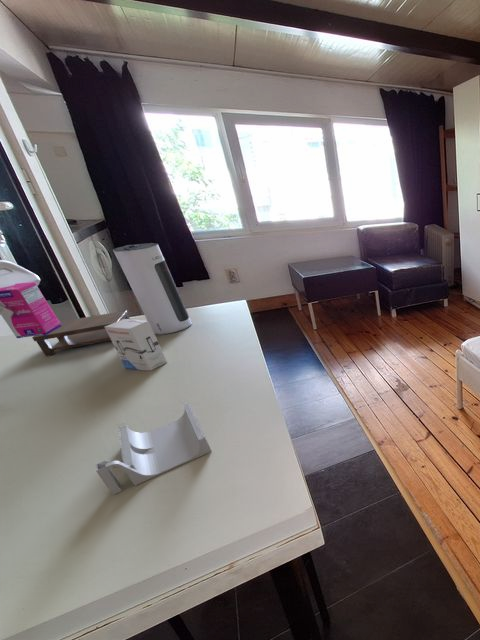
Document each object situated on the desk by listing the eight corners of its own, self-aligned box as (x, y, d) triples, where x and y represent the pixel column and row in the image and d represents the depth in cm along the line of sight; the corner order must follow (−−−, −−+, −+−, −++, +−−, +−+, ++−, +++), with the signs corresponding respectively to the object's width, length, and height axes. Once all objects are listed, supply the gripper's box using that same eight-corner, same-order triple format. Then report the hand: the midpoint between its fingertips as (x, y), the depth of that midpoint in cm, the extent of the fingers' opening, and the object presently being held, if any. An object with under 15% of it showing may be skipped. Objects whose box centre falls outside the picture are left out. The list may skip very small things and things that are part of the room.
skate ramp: (211, 451, 64) (200, 428, 61) (112, 495, 56) (95, 471, 53) (195, 415, 74) (184, 394, 71) (109, 448, 66) (94, 425, 63)
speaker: (176, 334, 111) (137, 248, 99) (143, 335, 112) (100, 249, 100) (199, 321, 121) (166, 240, 109) (169, 322, 121) (133, 242, 109)
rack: (44, 357, 101) (31, 337, 98) (61, 341, 111) (50, 323, 108) (126, 341, 108) (116, 322, 106) (135, 327, 118) (126, 310, 115)
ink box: (124, 368, 93) (101, 326, 88) (143, 359, 97) (122, 318, 92) (150, 371, 91) (128, 328, 86) (169, 361, 95) (149, 320, 90)
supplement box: (15, 339, 84) (-17, 291, 79) (34, 329, 89) (4, 284, 84) (46, 335, 85) (16, 288, 80) (63, 325, 90) (36, 281, 85)
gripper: (-104, 272, 69) (-11, 315, 75) (-1, 249, 87) (68, 285, 93) (-114, 297, 70) (-22, 337, 76) (-10, 269, 88) (58, 303, 94)
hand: (28, 308), depth 85 cm, fingers closed on supplement box, 6 cm apart
